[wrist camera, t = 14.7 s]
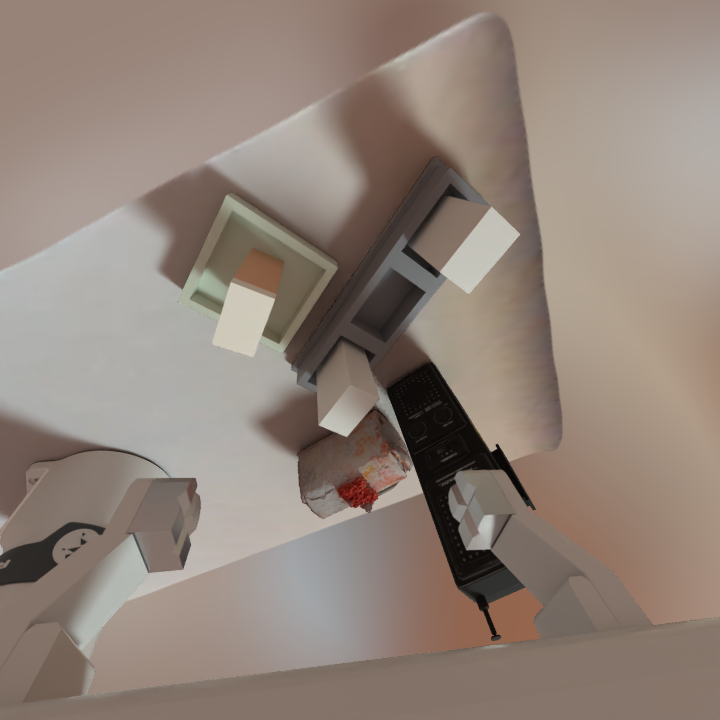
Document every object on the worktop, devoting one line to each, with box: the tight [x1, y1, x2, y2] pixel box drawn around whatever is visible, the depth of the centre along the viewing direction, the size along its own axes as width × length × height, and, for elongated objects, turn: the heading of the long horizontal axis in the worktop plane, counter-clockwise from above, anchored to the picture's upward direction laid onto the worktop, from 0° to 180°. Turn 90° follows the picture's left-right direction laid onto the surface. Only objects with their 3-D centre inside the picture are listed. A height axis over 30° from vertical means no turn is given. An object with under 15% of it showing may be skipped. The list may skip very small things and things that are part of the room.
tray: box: [177, 192, 338, 353], centre depth 31 cm, size 11×11×2 cm
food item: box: [297, 410, 414, 519], centre depth 41 cm, size 14×8×10 cm, turn 121°
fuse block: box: [291, 157, 520, 437], centre depth 30 cm, size 25×7×11 cm, turn 145°
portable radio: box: [387, 363, 535, 641], centre depth 31 cm, size 8×6×25 cm
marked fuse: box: [212, 248, 284, 357], centre depth 27 cm, size 5×3×10 cm, turn 154°
